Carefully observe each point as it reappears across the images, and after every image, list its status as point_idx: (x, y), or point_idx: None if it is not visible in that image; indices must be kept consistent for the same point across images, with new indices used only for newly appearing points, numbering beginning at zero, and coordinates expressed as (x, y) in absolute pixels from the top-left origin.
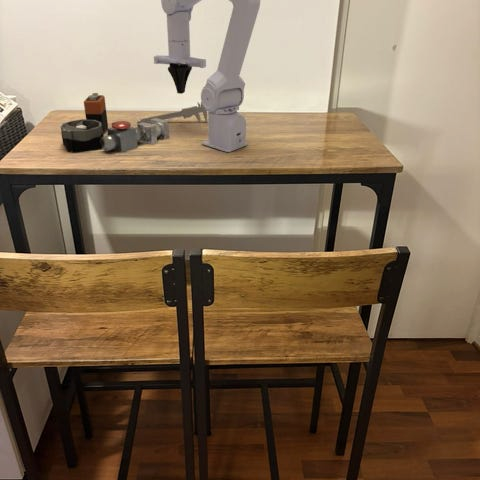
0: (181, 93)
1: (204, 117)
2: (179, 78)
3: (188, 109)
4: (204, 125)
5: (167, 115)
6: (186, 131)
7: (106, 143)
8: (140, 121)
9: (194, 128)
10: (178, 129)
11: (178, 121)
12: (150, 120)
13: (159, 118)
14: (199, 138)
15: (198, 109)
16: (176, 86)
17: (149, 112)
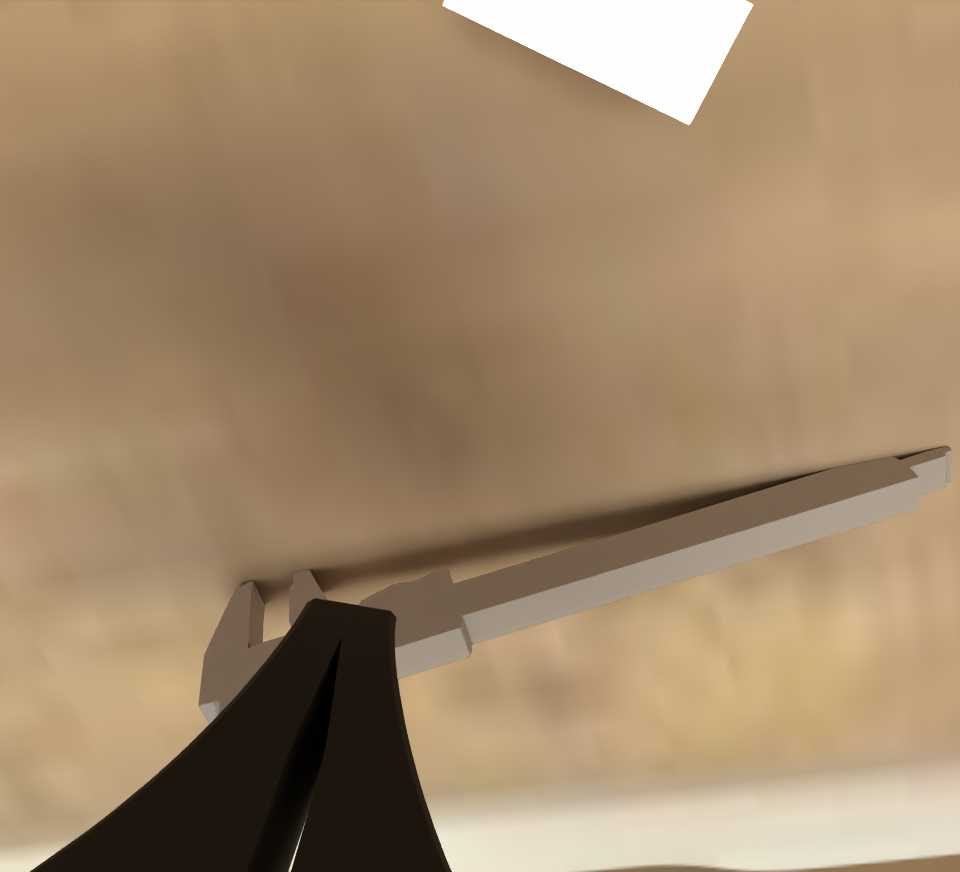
0: (312, 600)
1: (247, 611)
2: (233, 805)
3: None
4: (227, 498)
5: (619, 558)
6: (334, 278)
7: None
8: (909, 465)
9: (287, 392)
10: (442, 328)
11: None
12: (746, 5)
13: (704, 522)
14: (91, 47)
15: None
16: (377, 685)
17: (850, 750)
